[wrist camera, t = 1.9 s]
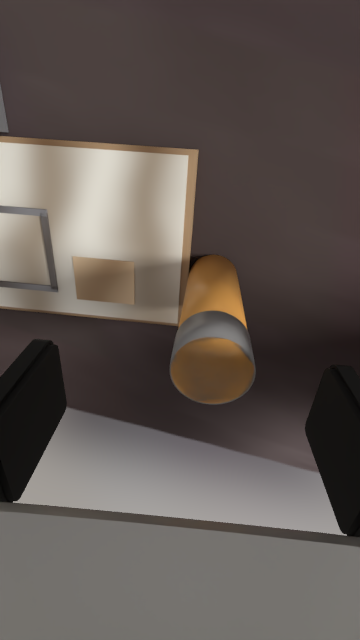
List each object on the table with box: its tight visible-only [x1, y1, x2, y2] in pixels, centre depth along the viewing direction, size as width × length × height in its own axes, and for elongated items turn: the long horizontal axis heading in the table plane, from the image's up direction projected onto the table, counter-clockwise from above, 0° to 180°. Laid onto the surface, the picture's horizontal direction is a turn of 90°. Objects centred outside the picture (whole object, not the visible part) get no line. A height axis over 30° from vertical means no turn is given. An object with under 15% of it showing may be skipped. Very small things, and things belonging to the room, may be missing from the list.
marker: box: [169, 255, 256, 405], centre depth 16 cm, size 3×3×10 cm
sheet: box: [0, 136, 198, 326], centre depth 20 cm, size 19×11×1 cm, turn 86°
